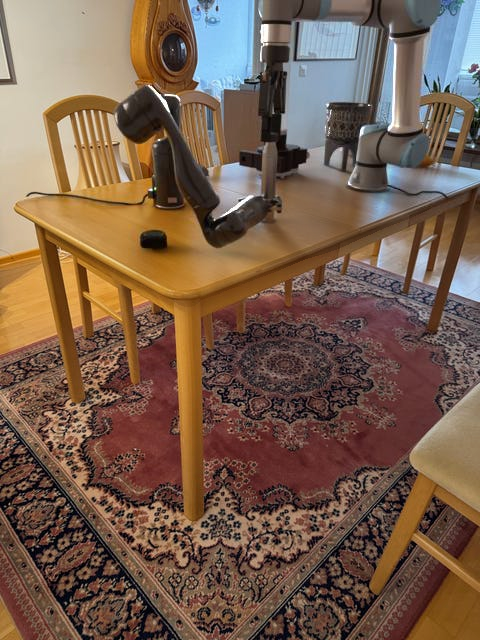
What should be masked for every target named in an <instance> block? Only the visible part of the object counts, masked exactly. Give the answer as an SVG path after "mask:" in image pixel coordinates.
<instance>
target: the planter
mask: <svg viewBox="0 0 480 640" xmlns="http://www.w3.org/2000/svg"><path fill="white" fill-rule="evenodd" d="M373 107H374V106H373V104H372V103H367V102H353V101H333V102H327V103H326V109H325V124H324V125H325V126H324V139H325V144H324V156H323V157H324V158H323V165H325V166H328V165H330V163H331V158H332V156H333V154H334V153H335V151H336V150H337V149H341V148H342V152H341V166H340V170H341V172H345V171H347V167H348V166H347V165H348V159H349V154H348V152H349V150H350V151H351V153H352V155H351V157H352V158H351V159H352V160H351V161H352V166H353V167H355V165H356V158H357V150H358V142H359V136H360V131H361V128H362V127H363V126H365V125H370V121H371V116H372V112H373Z"/></svg>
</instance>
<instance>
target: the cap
mask: <svg viewBox="0 0 480 640" xmlns="http://www.w3.org/2000/svg"><path fill="white" fill-rule="evenodd" d="M271 142H278V133H275V132H271Z"/></svg>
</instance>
